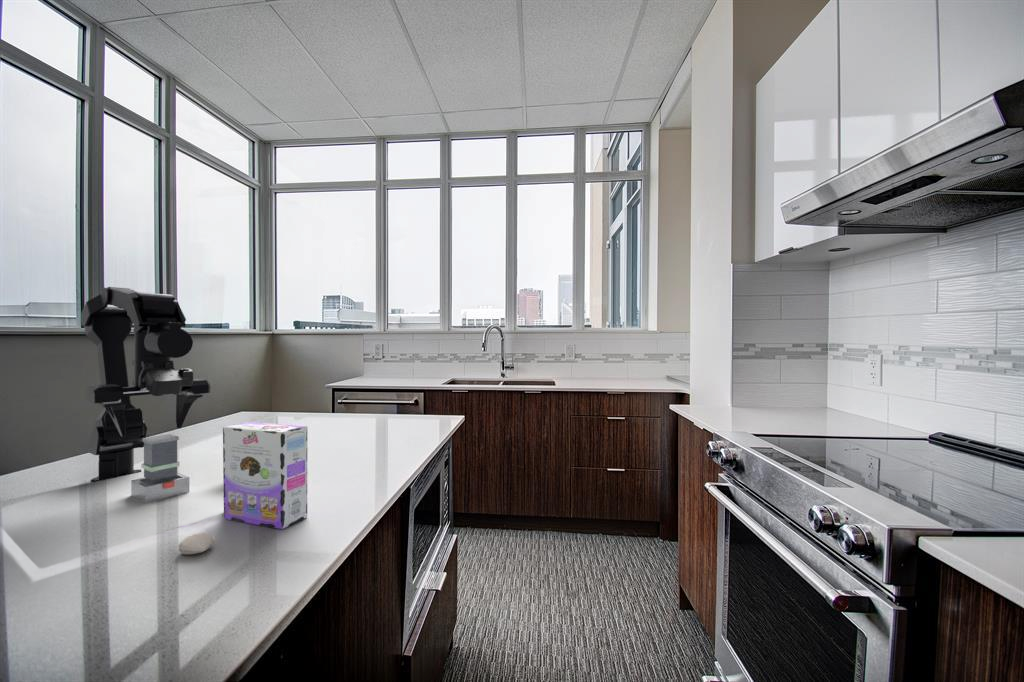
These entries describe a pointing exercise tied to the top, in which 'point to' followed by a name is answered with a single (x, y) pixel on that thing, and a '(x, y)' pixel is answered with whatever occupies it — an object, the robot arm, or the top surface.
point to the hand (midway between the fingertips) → (152, 432)
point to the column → (160, 456)
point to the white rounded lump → (196, 543)
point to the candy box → (265, 473)
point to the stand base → (159, 487)
